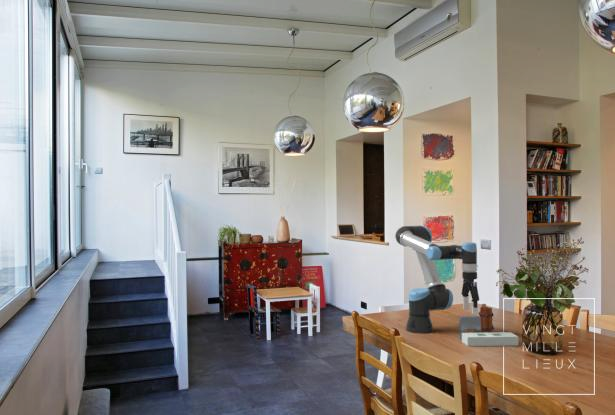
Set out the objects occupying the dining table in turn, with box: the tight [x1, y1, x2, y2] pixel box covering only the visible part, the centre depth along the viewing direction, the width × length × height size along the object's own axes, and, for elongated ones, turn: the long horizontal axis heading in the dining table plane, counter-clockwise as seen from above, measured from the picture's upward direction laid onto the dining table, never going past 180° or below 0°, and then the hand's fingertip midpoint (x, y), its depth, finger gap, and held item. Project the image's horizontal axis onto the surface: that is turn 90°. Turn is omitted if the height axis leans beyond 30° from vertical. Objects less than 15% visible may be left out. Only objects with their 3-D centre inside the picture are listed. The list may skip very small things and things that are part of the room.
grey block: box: [458, 315, 481, 341], centre depth 266 cm, size 11×3×12 cm, turn 91°
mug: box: [478, 303, 495, 333], centre depth 281 cm, size 15×8×15 cm, turn 168°
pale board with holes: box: [461, 331, 519, 347], centre depth 257 cm, size 26×9×4 cm, turn 91°
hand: (470, 311), depth 266 cm, fingers open, 13 cm apart
